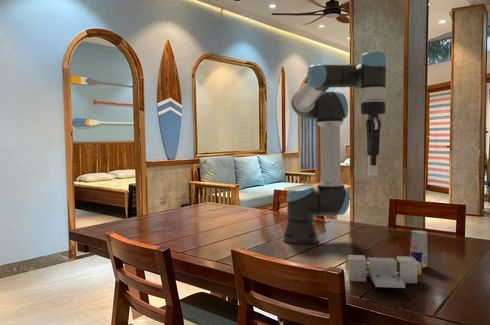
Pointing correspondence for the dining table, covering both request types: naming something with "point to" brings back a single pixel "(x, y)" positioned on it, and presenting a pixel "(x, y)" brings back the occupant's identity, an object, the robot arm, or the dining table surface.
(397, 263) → the pin
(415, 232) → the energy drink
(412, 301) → the dining table surface
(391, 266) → the leaf loose
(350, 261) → the hinge knuckle blocks
